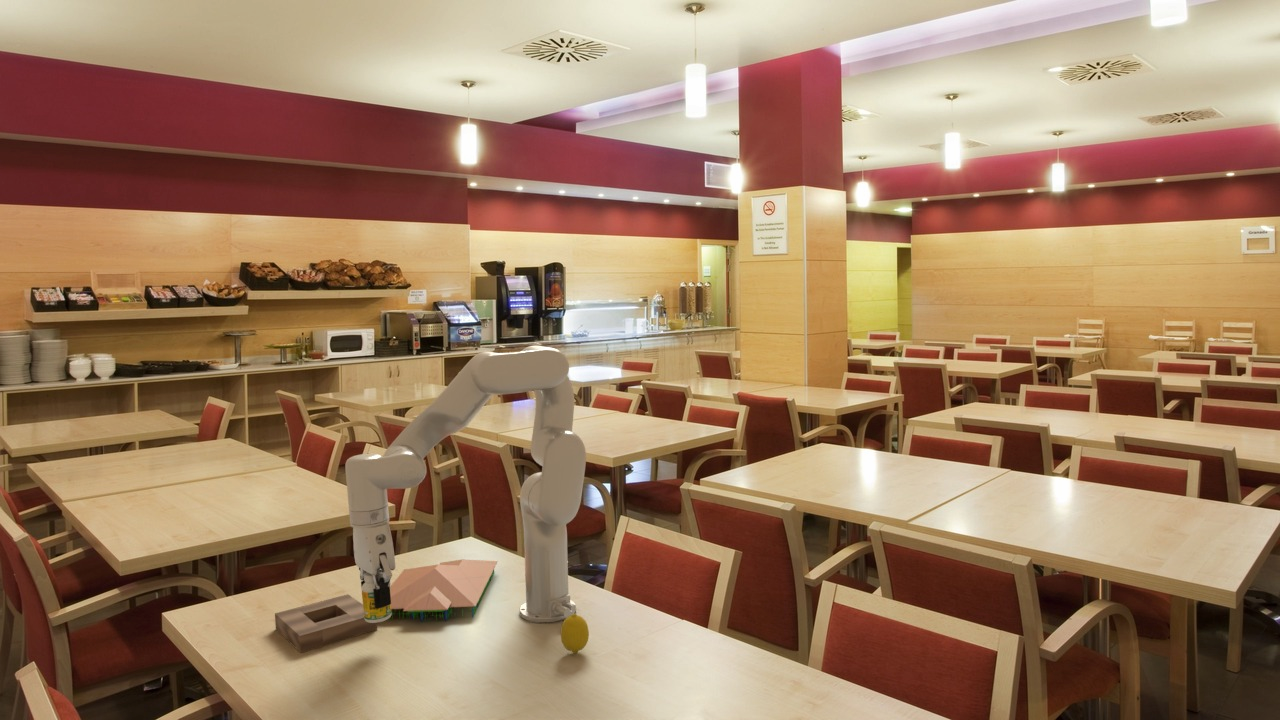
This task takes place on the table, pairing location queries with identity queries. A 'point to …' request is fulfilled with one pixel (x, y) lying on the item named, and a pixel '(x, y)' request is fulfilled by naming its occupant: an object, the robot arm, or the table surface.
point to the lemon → (574, 633)
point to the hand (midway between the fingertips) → (376, 601)
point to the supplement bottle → (368, 601)
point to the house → (441, 587)
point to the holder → (323, 622)
